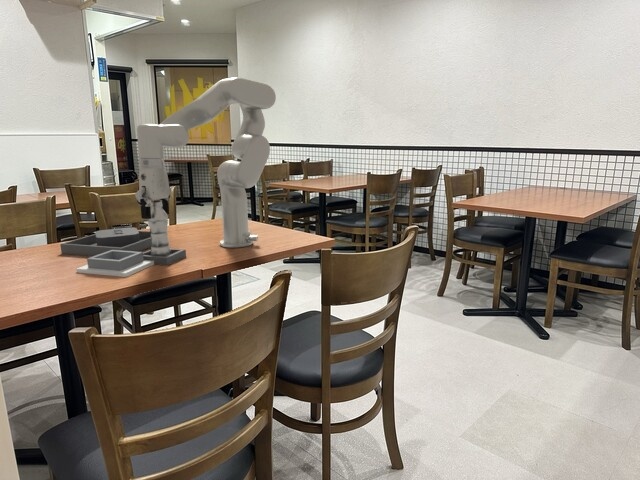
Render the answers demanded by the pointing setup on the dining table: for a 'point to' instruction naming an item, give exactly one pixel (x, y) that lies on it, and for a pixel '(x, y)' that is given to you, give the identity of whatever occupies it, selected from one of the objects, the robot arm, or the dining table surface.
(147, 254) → the tray
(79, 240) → the dark grey organizer tray
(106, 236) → the streaming box
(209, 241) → the dining table surface
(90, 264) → the board
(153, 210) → the plastic bottle
